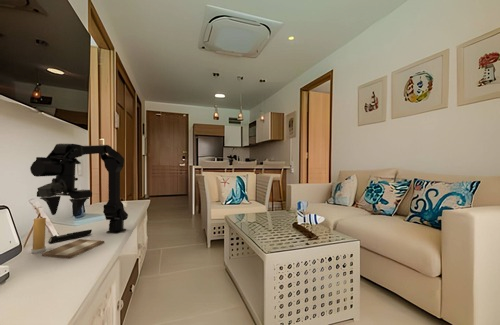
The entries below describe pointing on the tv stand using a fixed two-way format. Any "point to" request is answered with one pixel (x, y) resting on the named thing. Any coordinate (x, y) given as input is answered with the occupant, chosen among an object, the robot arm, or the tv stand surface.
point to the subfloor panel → (73, 248)
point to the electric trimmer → (69, 236)
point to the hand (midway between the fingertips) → (64, 215)
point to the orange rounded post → (39, 236)
